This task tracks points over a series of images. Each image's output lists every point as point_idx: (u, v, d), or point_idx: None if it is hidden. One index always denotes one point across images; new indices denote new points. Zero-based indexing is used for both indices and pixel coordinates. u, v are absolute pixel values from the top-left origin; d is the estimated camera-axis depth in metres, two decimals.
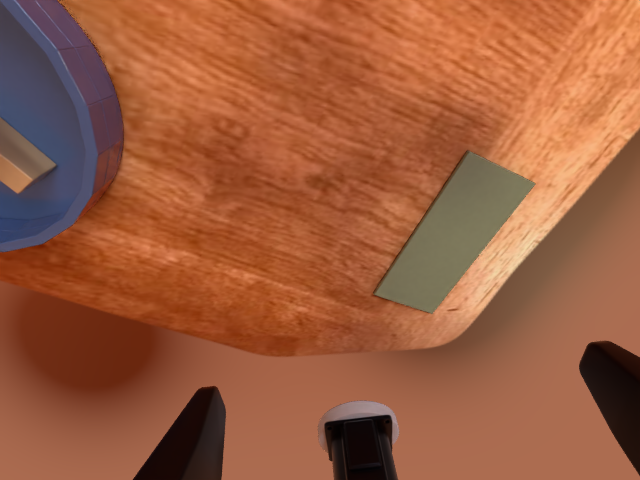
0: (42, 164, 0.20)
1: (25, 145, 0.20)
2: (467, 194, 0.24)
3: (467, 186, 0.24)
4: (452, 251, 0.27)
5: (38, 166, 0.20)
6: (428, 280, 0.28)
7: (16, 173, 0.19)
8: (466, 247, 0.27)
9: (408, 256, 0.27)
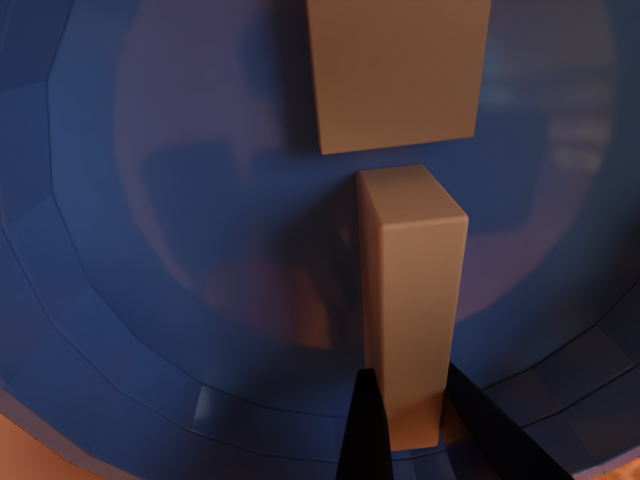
0: None
1: None
2: None
3: None
4: None
5: None
6: None
7: (428, 433, 0.08)
8: None
9: None
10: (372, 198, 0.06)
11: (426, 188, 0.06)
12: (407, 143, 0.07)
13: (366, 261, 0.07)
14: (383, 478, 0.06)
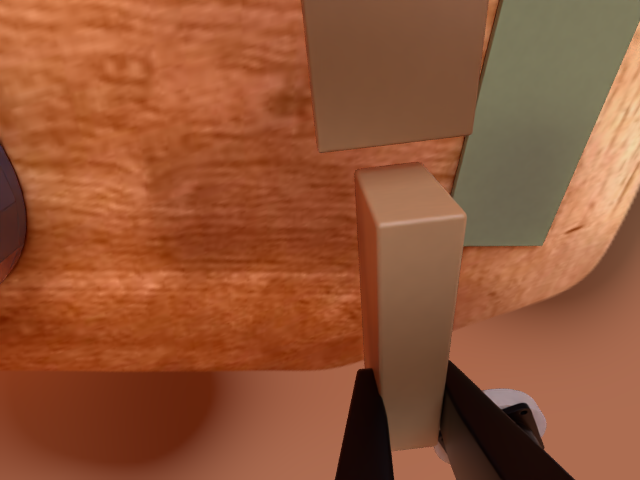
0: None
1: None
2: (541, 21, 0.14)
3: (537, 5, 0.13)
4: (545, 135, 0.16)
5: None
6: (518, 196, 0.17)
7: (428, 432, 0.08)
8: (568, 119, 0.16)
9: (473, 168, 0.17)
10: (370, 196, 0.06)
11: (424, 186, 0.06)
12: (405, 140, 0.06)
13: (364, 260, 0.07)
14: (383, 478, 0.06)
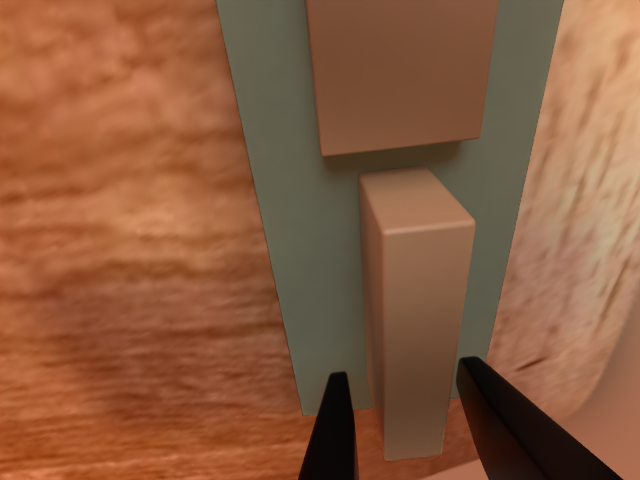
0: None
1: None
2: None
3: (304, 21, 0.06)
4: None
5: None
6: None
7: (432, 442, 0.08)
8: None
9: (306, 315, 0.09)
10: (374, 201, 0.06)
11: (431, 191, 0.06)
12: (411, 144, 0.06)
13: (368, 266, 0.07)
14: None
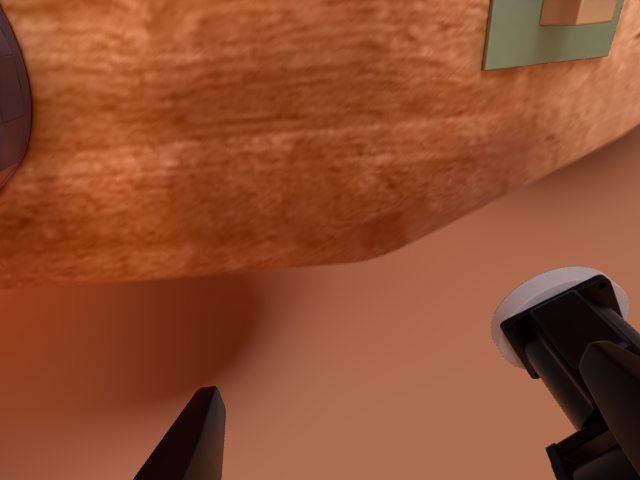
0: None
1: None
2: None
3: None
4: None
5: None
6: None
7: None
8: None
9: None
10: None
11: None
12: None
13: None
14: None
